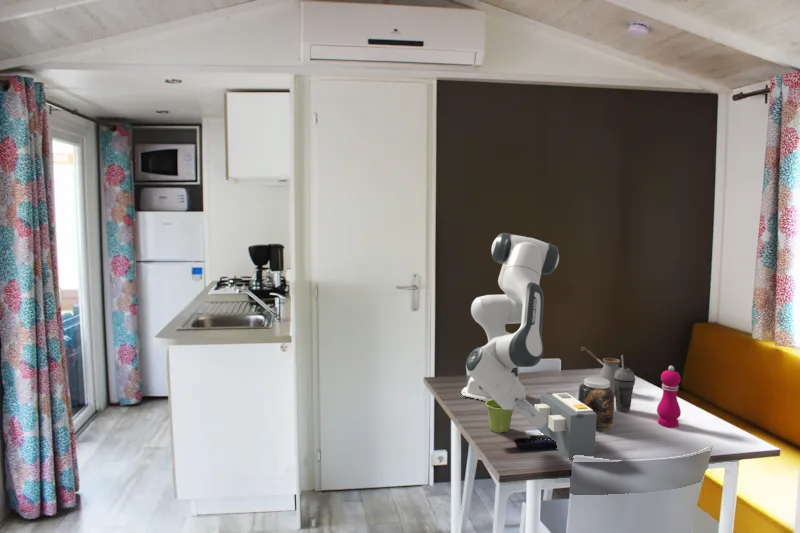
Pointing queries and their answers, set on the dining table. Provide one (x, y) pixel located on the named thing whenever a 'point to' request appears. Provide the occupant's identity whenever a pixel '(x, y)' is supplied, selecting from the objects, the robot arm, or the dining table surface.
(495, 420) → the plant pot
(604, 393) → the jar
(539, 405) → the button
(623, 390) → the beverage cup
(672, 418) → the pepper mill
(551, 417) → the button
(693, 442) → the dining table surface
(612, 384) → the coffee pot
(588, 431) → the console
